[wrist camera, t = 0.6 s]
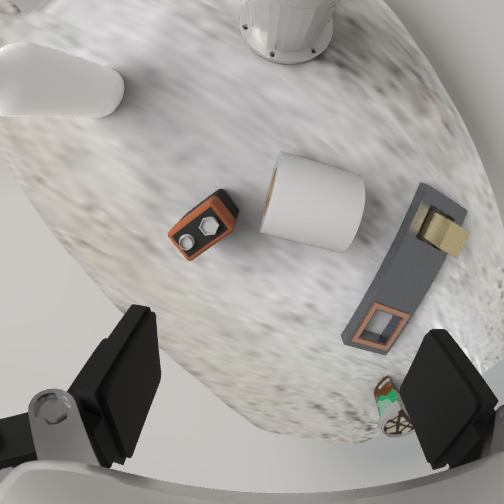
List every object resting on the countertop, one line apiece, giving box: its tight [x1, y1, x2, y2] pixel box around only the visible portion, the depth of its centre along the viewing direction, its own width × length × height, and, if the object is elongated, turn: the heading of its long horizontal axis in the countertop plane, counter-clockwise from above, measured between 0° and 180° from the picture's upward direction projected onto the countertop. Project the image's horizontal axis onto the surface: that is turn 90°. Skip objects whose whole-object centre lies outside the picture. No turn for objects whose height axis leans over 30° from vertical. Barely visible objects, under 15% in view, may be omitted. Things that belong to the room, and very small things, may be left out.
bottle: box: [0, 42, 125, 118], centre depth 22 cm, size 8×8×30 cm
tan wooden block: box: [418, 210, 469, 258], centre depth 37 cm, size 4×4×8 cm
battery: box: [168, 189, 239, 261], centre depth 37 cm, size 4×7×10 cm, turn 126°
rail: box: [341, 183, 467, 355], centre depth 43 cm, size 28×9×3 cm, turn 159°
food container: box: [374, 376, 415, 437], centre depth 49 cm, size 12×6×10 cm, turn 40°
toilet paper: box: [260, 152, 365, 253], centre depth 36 cm, size 10×10×10 cm
